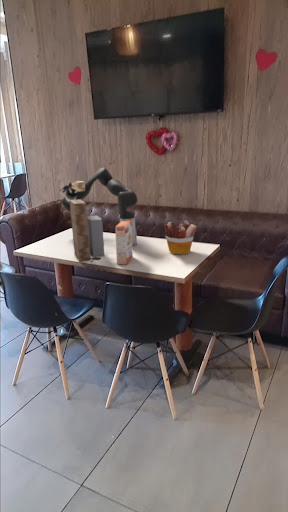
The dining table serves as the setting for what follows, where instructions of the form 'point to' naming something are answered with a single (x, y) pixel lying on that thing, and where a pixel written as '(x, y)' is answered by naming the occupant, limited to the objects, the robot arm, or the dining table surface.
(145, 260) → the dining table surface
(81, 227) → the wooden block
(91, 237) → the step
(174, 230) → the bucket of meat
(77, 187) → the tan wooden molding strip
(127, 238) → the cracker box
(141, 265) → the dining table surface
